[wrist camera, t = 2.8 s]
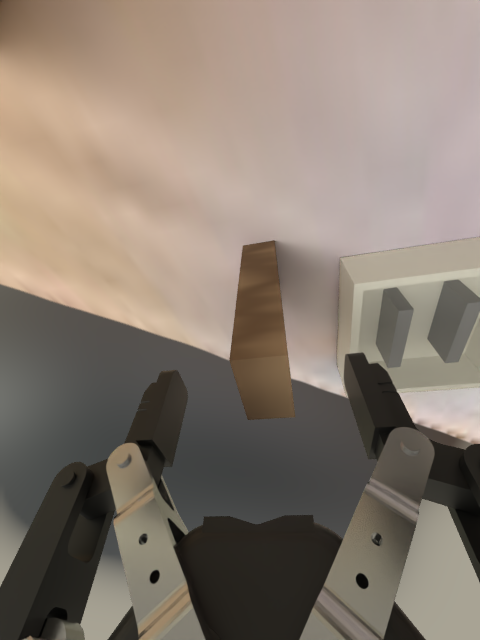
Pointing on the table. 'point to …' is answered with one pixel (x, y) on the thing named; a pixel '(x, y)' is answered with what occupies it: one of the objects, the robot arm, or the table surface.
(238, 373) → the wooden plank piece
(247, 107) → the table surface
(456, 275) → the plank slot holder tray
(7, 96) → the table surface
